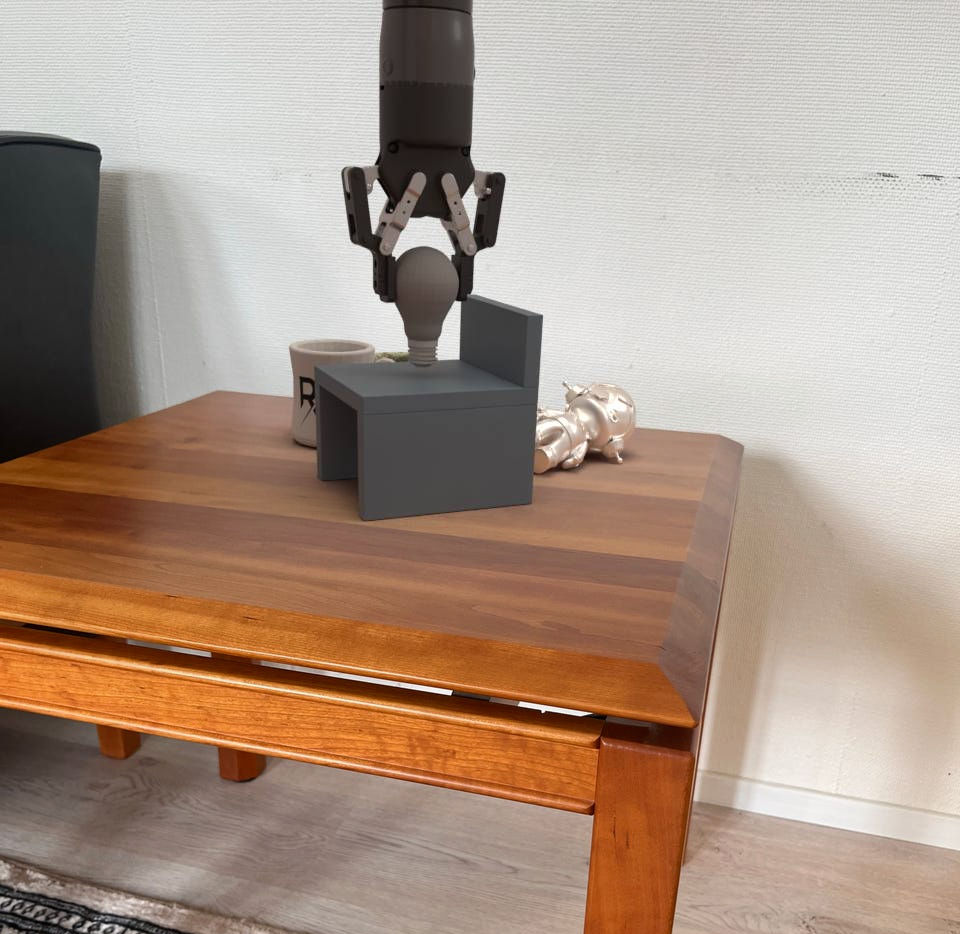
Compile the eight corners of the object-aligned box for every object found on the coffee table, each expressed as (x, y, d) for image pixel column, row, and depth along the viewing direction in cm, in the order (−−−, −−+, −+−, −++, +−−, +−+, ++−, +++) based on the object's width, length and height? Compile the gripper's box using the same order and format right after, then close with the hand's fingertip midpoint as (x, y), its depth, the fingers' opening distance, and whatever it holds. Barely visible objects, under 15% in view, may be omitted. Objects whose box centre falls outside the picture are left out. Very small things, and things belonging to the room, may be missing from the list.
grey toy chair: (363, 521, 86) (361, 319, 79) (317, 476, 98) (311, 296, 91) (531, 503, 93) (543, 315, 86) (469, 463, 104) (475, 294, 97)
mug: (279, 447, 107) (275, 349, 103) (306, 427, 115) (303, 336, 111) (394, 456, 106) (395, 357, 101) (413, 435, 114) (414, 343, 109)
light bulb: (450, 361, 94) (454, 244, 89) (460, 373, 88) (465, 250, 84) (385, 360, 93) (385, 242, 88) (391, 372, 87) (392, 247, 83)
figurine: (514, 389, 99) (614, 346, 107) (482, 430, 105) (579, 386, 113) (576, 478, 98) (672, 427, 106) (540, 514, 104) (634, 463, 112)
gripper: (488, 88, 87) (480, 295, 94) (325, 76, 81) (329, 296, 88) (528, 84, 81) (516, 306, 88) (354, 70, 75) (357, 308, 82)
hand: (423, 300), depth 88 cm, fingers closed on light bulb, 6 cm apart
